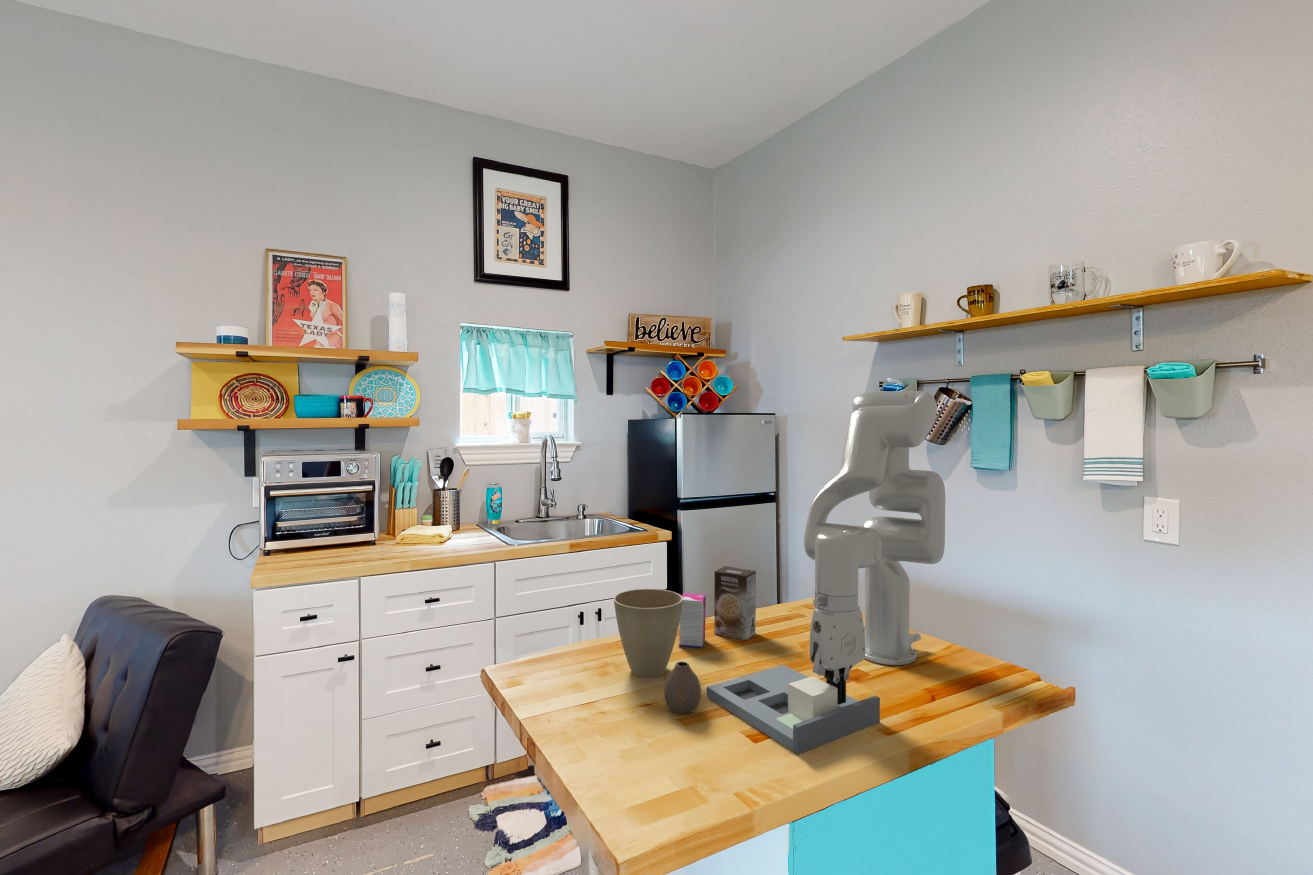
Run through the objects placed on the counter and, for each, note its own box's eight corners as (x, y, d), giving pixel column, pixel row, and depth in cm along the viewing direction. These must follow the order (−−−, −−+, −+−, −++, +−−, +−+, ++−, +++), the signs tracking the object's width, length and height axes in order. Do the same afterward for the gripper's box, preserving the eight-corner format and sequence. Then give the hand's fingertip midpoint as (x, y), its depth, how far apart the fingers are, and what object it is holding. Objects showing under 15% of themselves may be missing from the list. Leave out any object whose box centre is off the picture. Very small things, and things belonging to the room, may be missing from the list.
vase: (675, 721, 114) (675, 673, 114) (657, 706, 120) (657, 660, 120) (708, 713, 117) (707, 666, 117) (689, 698, 123) (688, 654, 123)
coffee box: (712, 634, 159) (712, 570, 158) (724, 626, 164) (723, 565, 164) (746, 640, 154) (746, 575, 154) (757, 632, 160) (756, 569, 159)
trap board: (782, 673, 134) (782, 652, 134) (879, 722, 113) (879, 697, 113) (706, 696, 124) (706, 673, 124) (797, 754, 103) (797, 727, 102)
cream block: (812, 702, 116) (812, 676, 116) (837, 715, 111) (837, 688, 111) (788, 711, 113) (788, 683, 113) (812, 724, 108) (812, 696, 108)
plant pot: (663, 690, 127) (662, 612, 126) (601, 676, 134) (600, 602, 133) (694, 664, 140) (694, 593, 139) (636, 652, 147) (635, 584, 146)
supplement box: (703, 648, 149) (702, 600, 149) (678, 647, 150) (678, 599, 150) (706, 640, 155) (705, 593, 154) (682, 638, 156) (682, 592, 156)
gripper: (822, 613, 107) (822, 719, 108) (881, 599, 115) (880, 698, 116) (791, 602, 113) (791, 703, 114) (848, 589, 121) (848, 684, 122)
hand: (836, 700), depth 115 cm, fingers closed
